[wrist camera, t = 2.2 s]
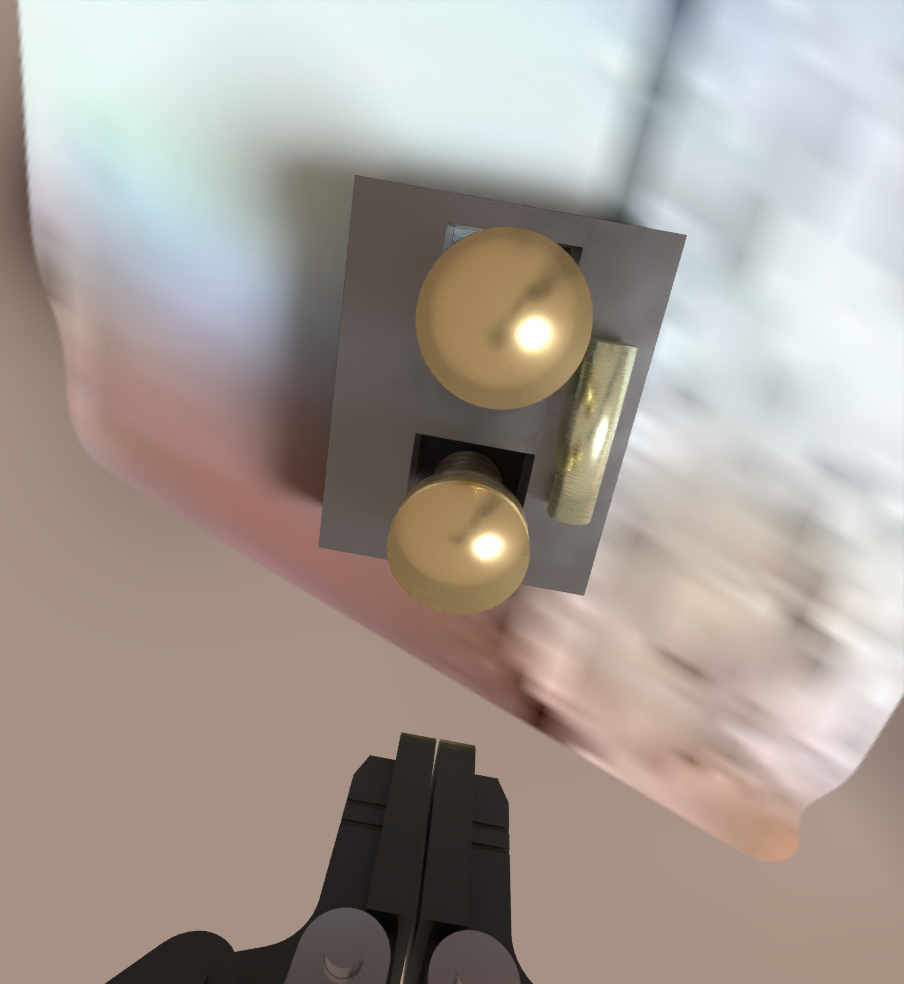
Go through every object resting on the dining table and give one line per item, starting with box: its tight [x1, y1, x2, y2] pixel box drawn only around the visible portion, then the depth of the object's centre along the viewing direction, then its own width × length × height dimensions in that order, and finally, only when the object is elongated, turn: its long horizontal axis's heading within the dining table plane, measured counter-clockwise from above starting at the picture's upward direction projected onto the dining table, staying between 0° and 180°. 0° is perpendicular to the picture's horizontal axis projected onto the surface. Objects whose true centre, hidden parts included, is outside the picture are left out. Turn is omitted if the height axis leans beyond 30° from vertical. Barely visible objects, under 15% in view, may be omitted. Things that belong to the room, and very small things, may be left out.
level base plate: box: [319, 175, 687, 596], centre depth 26 cm, size 15×12×6 cm
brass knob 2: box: [387, 451, 530, 614], centre depth 25 cm, size 5×5×7 cm
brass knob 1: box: [415, 227, 593, 410], centre depth 21 cm, size 5×5×7 cm
